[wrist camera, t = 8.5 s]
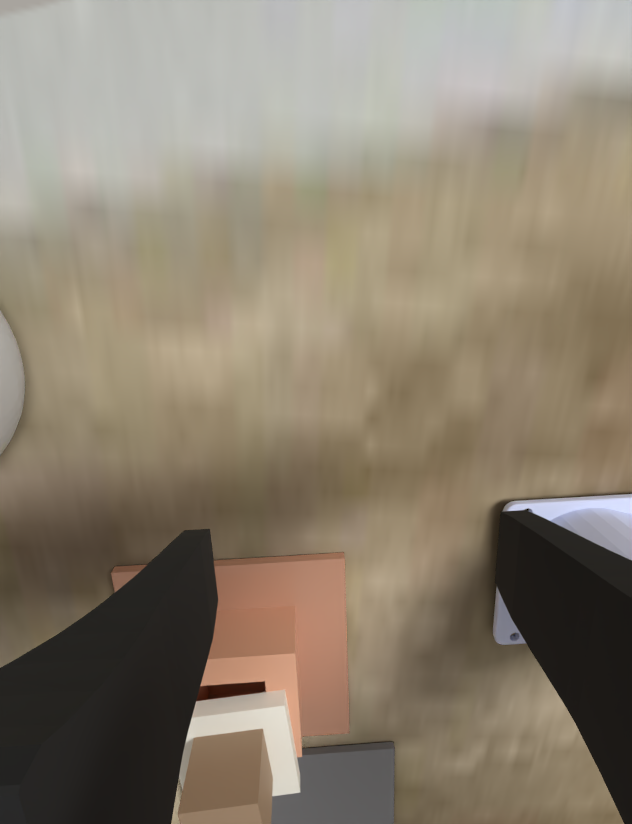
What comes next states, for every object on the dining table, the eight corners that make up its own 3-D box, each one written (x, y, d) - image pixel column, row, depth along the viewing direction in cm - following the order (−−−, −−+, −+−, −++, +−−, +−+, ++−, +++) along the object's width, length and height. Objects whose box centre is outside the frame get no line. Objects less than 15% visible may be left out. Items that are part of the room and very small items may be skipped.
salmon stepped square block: (343, 552, 23) (352, 600, 20) (348, 724, 26) (356, 791, 23) (114, 566, 23) (83, 618, 19) (148, 739, 26) (126, 809, 23)
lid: (284, 689, 21) (283, 778, 17) (300, 774, 22) (301, 872, 19) (167, 704, 21) (141, 797, 17) (191, 789, 22) (171, 890, 19)
